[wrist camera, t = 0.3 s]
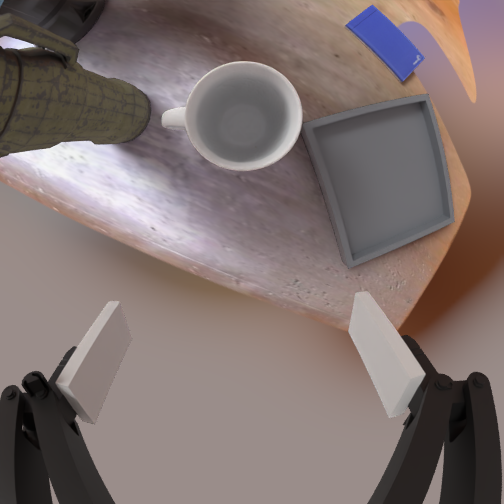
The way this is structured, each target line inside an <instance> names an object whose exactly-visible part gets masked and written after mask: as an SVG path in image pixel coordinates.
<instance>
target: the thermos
mask: <svg viewBox="0 0 504 504" xmlns="http://www.w3.org/2000/svg"><path fill="white" fill-rule="evenodd" d="M3 36H8V37H12V38H15V39H19V40H22V41H25V42H28V43H32V44H35V45H38V46H41V47H43V48H46V49H49V50H52V51H54V52H52V51H49V50H46V49H43V48H36V47H30V48H25V49H19V50H18V49H13V48H6V49H3V48H2V47H1V46H0V158H1V157H4V156H7V155H9V154H10V153H17V152H24V151H31V150H38V149H46V148H51V147H53V146H55V145H57V144H59V143H61V142H71V141H92V142H93V143H94V144H118V143H125V142H128V141H131V140H133V139H135V138H136V137H138V136H139V135H140V134H141V133H142V132H143V131H144V129H145V128H146V126H147V124H148V122H149V120H150V114H151V107H150V101H149V100H148V98H147V96H146V95H145V94H144V93H143V92H142V91H141V90H139V89H137V88H136V87H135V86H133V85H131V84H129V83H127V82H125V81H122V80H119V79H116V78H108V79H107V78H105V77H103V76H100V75H98V74H95V73H93V72H90V71H88V70H85V69H83V68H82V66H81V65H80V64H79V63H77V62H76V61H77V57H78V52H79V49H78V48H77V46H76V45H75V44H74V43H72V42H71V41H70V40H68V39H65V38H63V37H61V36H58V35H56V34H54V33H52V32H50V31H48V30H46V29H44V28H42V27H40V26H38V25H36V24H34V23H31V22H29V21H27V20H25V19H23V18H20V17H18V16H16V15H14V14H11V13H6V14H3V15H0V38H1V37H3Z"/></svg>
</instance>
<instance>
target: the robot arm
mask: <svg viewBox="0 0 504 504" xmlns="http://www.w3.org/2000/svg"><path fill="white" fill-rule="evenodd" d="M104 4H105V0H0V15H3V14H6V13H11V14H14V15H16V16H18V17H20V18H23V19H25V20H27V21H29V22H31V23H34V24H36V25H38V26H40V27H42V28H44V29H46V30H48V31H50V32H52V33H54V34H56V35H58V36H61V37H63V38H65V39H68V40H70V41H71V42H72V43H74V44H75V43H76V42H77V41H79V40H80V39H81V38H82V37H83V36H84V35H85V34H86V33H87V32H88V31H89V30H90V29H91V28H92V26H93V25H94V24H95V22H96V21H97V19H98V18H99V16H100V14H101V12H102V10H103V7H104ZM33 45H34V46H35V47H36V48H43V47H41V46H38V45H35V44H33ZM43 49H46V48H43ZM46 50H49V49H46ZM49 51H52V50H49ZM52 52H54V51H52ZM348 332H349V334H350V335H351V338H352V340H353V342H354V344H355V346H356V348H357V350H358V352H359V354H360V356H361V358H362V360H363V362H364V364H365V367H366V369H367V371H368V373H369V375H370V377H371V379H372V381H373V383H374V386H375V388H376V390H377V392H378V394H379V397H380V399H381V401H382V403H383V406H384V408H385V410H386V412H387V415H388V417H389V418H391V417H395V416H398V415H401V414H403V413H404V412H405V410H406V409H407V407H409V409H410V411H411V413H410V414H409V416H408V417H407V419H406V420H405V422H404V424H403V425H405V427H404V429H403V432H402V435H401V437H400V440H399V442H398V444H397V447H396V449H395V451H394V454H393V456H392V458H391V460H390V462H389V464H388V467H387V468H386V470H385V472H384V475H383V476H382V479H381V481H380V482H379V484H378V486H377V488H376V490H375V491H374V493H373V495H372V497H371V499H370V500H369V502H368V503H367V504H422V503H423V501H424V499H425V496H426V494H427V491H428V489H429V486H430V484H431V481H432V478H433V475H434V473H435V470H436V467H437V463H438V460H439V457H440V454H441V450H442V446H443V443H444V465H443V477H442V488H441V495H440V502H439V504H501V491H502V469H501V468H502V467H501V449H500V440H499V439H500V438H499V430H498V423H497V416H496V410H495V405H494V400H493V395H492V390H491V386H490V382H489V380H488V378H487V377H486V376H485V375H484V374H482V373H480V372H473V373H471V374H470V375H469V377H468V378H467V380H465V381H453V380H452V379H451V378H450V377H449V376H447V375H445V374H438V372H437V371H436V369H435V368H434V367H433V365H432V364H431V363H430V361H429V359H428V358H427V356H426V355H425V354H424V352H423V351H422V349H420V347H419V345H418V344H417V343H416V341H415V340H414V339H412V338H411V337H410V336H408V335H404V336H400V335H399V334H398V332H397V331H396V329H395V328H394V326H393V325H392V324H391V322H390V321H389V319H388V318H387V317H386V315H385V314H384V312H383V311H382V310H381V308H380V307H379V306H378V304H377V303H376V302H375V300H374V299H373V298H372V296H371V295H370V294H369V292H368V291H364V292H356V293H355V299H354V304H353V310H352V315H351V320H350V325H349V330H348ZM131 341H132V337H131V334H130V331H129V328H128V325H127V322H126V319H125V315H124V312H123V309H122V306H121V303H120V301H109V302H108V303H107V305H106V306H105V307H104V309H103V310H102V312H101V313H100V315H99V316H98V317H97V319H96V320H95V322H94V323H93V325H92V326H91V328H90V329H89V330H88V332H87V333H86V335H85V336H84V338H83V339H82V341H81V342H80V344H79V345H78V347H75V346H74V347H72V348H71V349H70V350H69V351H68V352H67V353H66V354H65V356H64V357H63V360H61V362H60V364H59V366H58V367H57V368H56V370H55V372H54V373H53V375H52V376H51V378H50V380H49V381H48V382H47V380H46V379H45V377H44V375H43V374H42V373H41V372H39V371H34V372H31V373H29V374H27V375H26V376H25V377H24V379H23V380H22V386H23V388H24V389H25V391H26V392H27V393H22V392H21V391H20V389H19V388H18V387H17V386H16V385H11V386H8V387H6V388H5V389H4V391H3V392H2V395H1V399H0V504H53V503H52V497H51V490H50V483H49V478H50V481H51V483H52V486H53V489H54V491H55V494H56V497H57V499H58V502H59V504H115V502H114V501H113V499H112V497H111V495H110V494H109V492H108V490H107V488H106V486H105V485H104V483H103V481H102V479H101V477H100V475H99V473H98V471H97V469H96V467H95V465H94V463H93V460H92V458H91V456H90V454H89V451H88V449H87V447H86V444H85V442H84V440H83V437H82V434H81V432H80V429H79V426H78V424H77V422H76V421H75V417H76V415H78V416H79V417H80V418H81V420H82V421H84V422H87V423H91V424H95V423H96V421H97V418H98V416H99V413H100V411H101V408H102V406H103V403H104V401H105V399H106V396H107V394H108V391H109V389H110V387H111V385H112V382H113V380H114V378H115V375H116V373H117V371H118V369H119V367H120V364H121V362H122V360H123V358H124V356H125V353H126V351H127V349H128V347H129V345H130V343H131ZM22 425H23V430H22Z"/></svg>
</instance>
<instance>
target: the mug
mask: <svg viewBox="0 0 504 504" xmlns="http://www.w3.org/2000/svg"><path fill="white" fill-rule="evenodd" d="M302 120H303V112H302V105H301V101H300V98H299V96H298V93H297V91H296V90H295V88H294V86H293V85H292V84H291V82H290V81H289V80H288V79H287V78H286V77H285V76H284V75H282V74H281V73H280V72H278V71H277V70H275V69H273V68H272V67H269V66H267V65H264V64H261V63H257V62H249V61H239V62H232V63H227V64H224V65H222V66H219V67H217V68H215V69H213V70H212V71H210V72H209V73H207V74H206V75H205V76H204V77H202V78H201V79H200V80H199V81H198V83H197V84H196V85H195V86H194V88H193V89H192V91H191V93H190V95H189V97H188V99H187V103H186V106H185V107H179V108H174V109H170V110H167V111H165V112H164V113H163V115H162V121H161V122H162V126H163V127H164V128H166V129H170V130H186V131H187V135H188V137H189V139H190V141H191V143H192V145H193V146H194V148H195V149H196V150H197V151H198V152H199V153H200V154H201V155H202V156H203V157H204V158H205V159H206V160H208V161H209V162H211V163H213V164H215V165H217V166H219V167H222V168H225V169H228V170H234V171H252V170H258V169H262V168H265V167H267V166H270V165H272V164H274V163H275V162H277V161H278V160H280V159H281V158H283V157H284V156H285V155H286V154H287V153H288V152H289V151H290V150H291V148H292V147H293V146H294V144H295V142H296V141H297V139H298V136H299V134H300V131H301V127H302Z"/></svg>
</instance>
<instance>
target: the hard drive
mask: <svg viewBox="0 0 504 504" xmlns="http://www.w3.org/2000/svg"><path fill="white" fill-rule="evenodd" d="M344 27H345V28H346V29H347V30H348V31H350V32H351V33H352V34H353V35H354V36H355V37H356V38H357V39H358V40H360V41H361V42H362V43H363V44H364V45H365V46H366V47H367V48H368V49H369V50H370V51H371V52H372V53H373V54H374V55H375V56H376V57H377V58H378V59H379V60H380V61H381V62H382V63H383V64H384V65H385V66H386V67H387V68H388V69H389V70H390V72H391V73H392V74H393V75H394V76H395V77H396V78H397V79H398V81H399V82H403V81H404V80H405V79H406V78H407V77H408V76H409V75H410V74H411V73H412V71H413V70H414V69H415V68H416V67H417V66H418V65H419V64H420V63H421V62H422V61H423V60H424V59H425V58H424V56H423V55H422V54H421V53H420V52H419V51H418V49H416V47H415V46H414V45H413V44H412V43H411V42H410V40H409V39H408V38H407V37H406V36H405V35H404V34H403V33H402V32H401V31H400V30H399V29H398V28H397V27H396V26H395V25H394V24H393V23H392V22H391V21H390V20H389V19H388V18H387V17H386V16H385V15H383V14H382V13H381V12H380V11H379V10H378V9H377V8H376V7H375V6H373V5H371V6H370V7H368V8H367V9H366V10H364V11H363V12H362V13H360V14H359V15H358V16H357V17H355V18H354V19H353V20H351V21H350V22H349V23H348V24H346V25H345V26H344Z"/></svg>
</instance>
